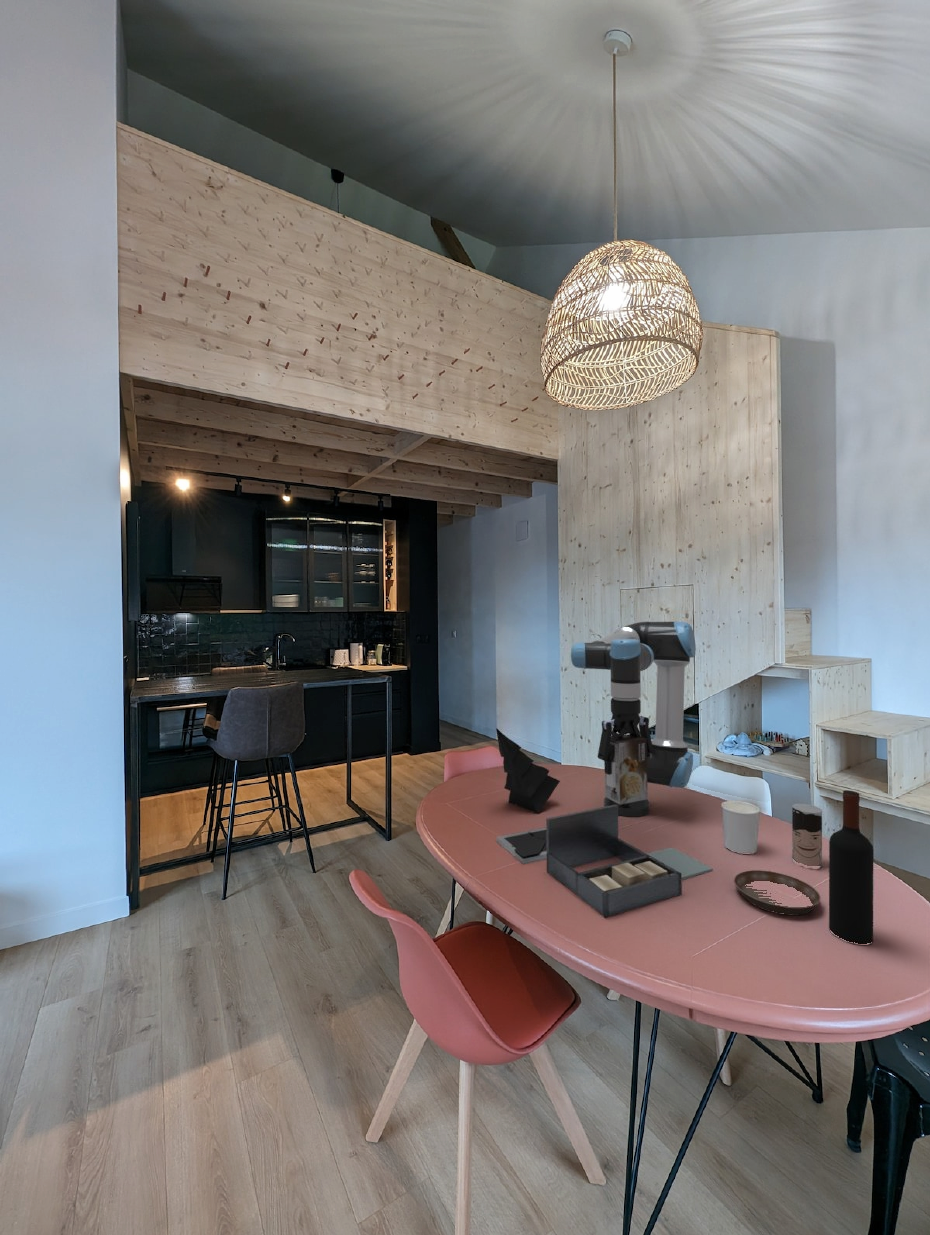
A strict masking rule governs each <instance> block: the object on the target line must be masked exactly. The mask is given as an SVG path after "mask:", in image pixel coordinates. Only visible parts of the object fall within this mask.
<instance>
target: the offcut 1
mask: <svg viewBox="0 0 930 1235" xmlns="http://www.w3.org/2000/svg"><path fill="white" fill-rule="evenodd" d="M589 880H590V881H591V882H592V883H594V884H595V885H597V886H598V887H599V888H601V889H602V890H603V891H605V892H609V891H612V890H616V889H619V888H622V886H620V885H619V884H618V883H616V882H615V881H614V880H612V879H611V878H610V877H609V876H607V875H604V876H599V877H595V878H590V879H589Z"/></svg>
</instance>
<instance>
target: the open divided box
mask: <svg viewBox="0 0 930 1235" xmlns="http://www.w3.org/2000/svg"><path fill="white" fill-rule="evenodd" d="M545 820H546V821H545V822H546V824H545V825H546V826H545V827H546V836H547V859H546V872H547V873H548V874H549V875H551V876H552V878H554V879H555V880H557V881H558V882H560V883H561V884H562V885H563V886H564V887H566V888H567V889H568V890H569V891H571V892H572V893H574V895H575V896H577V897H578V898H580V899H581V900H582V901H583V902H584V903H586V904H588V905H589V906H590V907H591V908H593V909H594V910H595V911H596V912H598V913H599V914H600V915H601V916H603V917H604V918H605V919H606V918H609V917H613V916H616V915H619V914H621V913H624V912H628V911H632V910H635V909H638V908H641V907H645V906H648V905H651V904H654V903H657V902H660V901H664V900H667V899H670V898H673V897H677V896H680V895H682V891H683V890H682V889H683V888H682V886H683V885H682V884H683V883H682V874H681V873H680V872H678V871H676V870H674V869H673V868H671V867H669V866H667V865H665V864H664V863H662V862H660V861H658V860H657V859H655V858H653V857H651V856H649V855H648V854H647V853H646V852H644V851H642V850H641V849H639V848H637V847H635V846H633V845H632V844H631V843H628V842H627V841H624V840H622V839H621V838H619V815H618V805H611V806H606V807H604V806H603V807H597V808H592V809H587V810H582V811H578V812H571V813H567V814H561V815H557V816H551V817H548V818H547V817H546V819H545ZM614 857H615V858H617V859H619V860H621V861H620V862H614V863H611V864H607V865H603V866H599V867H596V868H592V869H589V870H583V871H580V872H579V871H577V870H576V869H574V867H578V866H582V865H586V864H590V863H594V862H598V861H602V860H607V859H611V858H614ZM647 861H650V862H652V863H654V864H655V865H657V866H659V867H661V868H662V869H664V870H666V871H667V875H665V876H662V877H658V878H655V879H651V880H647V881H644V882H640V883H637V884H633V885H630V886H626V887H623V888H619V889H616V890H612V891H609V892H605V891H603V890H602V889H601V888H599V887H598V886H597V885H595V884H594V883H592V882H591V881H590V880H589V879H590V878H595V877H599V876H604V875H607V876H609V877H610V878H611V879H612V867H613V866H616V865H620V864H624V863H629V864H631V865H633V866H634V865H636V864H640V863H644V862H647Z"/></svg>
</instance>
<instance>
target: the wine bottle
mask: <svg viewBox="0 0 930 1235" xmlns="http://www.w3.org/2000/svg"><path fill="white" fill-rule="evenodd" d="M860 799H861V798H860V793H859V792H857V791H855V790H850V789H849V790H843V791H842V827H841V829H839V830H837V831H835V832H833V833H832V834H831V836H830V837H829V841H828V844H829V845H828V854H829V855H828V860H829V861H828V865H829V866H828V903H829V904H828V929H829V928H830V930H831V931H832V932H833V933H834V934H835V935H837V936H839V938H842V939H844V940H846V941H849V942H853V943H854V942H855V943H858V944H867V943H871V942H874V845H873V844H872V842H871V841H870V840H869V838H867V837H866V836H865V835H864V834H863V833H862V832H861V830H860V802H861V800H860ZM830 930H829V931H830ZM839 938H838V939H839Z"/></svg>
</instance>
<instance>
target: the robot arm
mask: <svg viewBox="0 0 930 1235" xmlns="http://www.w3.org/2000/svg"><path fill="white" fill-rule="evenodd" d="M696 650H697V645H696V638H695V634H694V629H693V627H692V625H691V624H690V623H689V622H685V621H640V622H635V623H631V624H627V625H625V626H622V627H619V628H618V629H615V631H614V632H613V633H612V634H610V635H607V636H605V637H602V638H599V639H597V640H594V641H592V642H584V641H583V642H575V643H574V644H573V645H572V649H571V652H570V658H571V659H570V661H571V663H572V666H574V668H577V669H584V670H586V669H589V670H590V669H591V670H592V669H593V670H609V671H610V696H611V697H612V698H611V699H610V712H611V715H612V716H611V719H610V720H607V721H606V720H602V721H601V735H600V741H599V747H598V751H597V758H598V759H599V760H601V761H603V762H604V774H605V773H606V774H607V785H608V786H610V787H613V788H615V787H616V774H615V762H613V759H614V756H615V745H612V744H610V741H611V739H612V740H615V741H620V740H621V739H622V738H623V737H624V735H628V734H630V735H631V736H633V737H636V738H639V737H642V738H645V739H647V784H648V783H649V784H656V785H661V786H666V787H669V788H679V789H680V788H685V787H686V786H688V783H689V782H690V780H691V776H692V772H693V766H694V765H693V764H694V755H693V753H692V752H690V751H688V745H687V743H686V742H685V741H684V715H685V714H684V707H685V706H684V705H685V704H684V702H685V676H686V675H685V671H686V670H685V669H686V667H687V666H688V665H689V664H690V662H691V658H694V657H696V652H697V651H696ZM653 663H654V664H655V665H656V666H657V672H656V673H657V674H656V698H655V701H656V702H655V704H656V706H655V732H654V733H655V734H654V736H655V737H654V738H653V739H652V737H651V732H650V726H649V724H650V718H649V717H646V716H643V715H641V716H640V714H641V712H642V709H641V705H642V704H641V703H642V701H641V699H640V698H641V696H642V695H641V688H642V687H641V672H643V671H645V670H647V669H648V668H649V667H650V666H652V664H653ZM611 805H618V816H622V817H631V818H632V817H635V818H636V817H642V816H643V817H644V816H647V815H648V814H649V813H650V812H651V806H650V805H651V804H650V802H649V799H646V800H641V801H636V802H631V803H626V804H621V805H620V804H618V803H616V802H614V801H612V800H610V799H608V798H606V797H604V800H603V807H606V806H611Z"/></svg>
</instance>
